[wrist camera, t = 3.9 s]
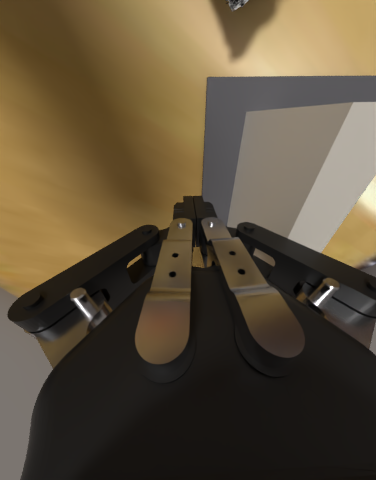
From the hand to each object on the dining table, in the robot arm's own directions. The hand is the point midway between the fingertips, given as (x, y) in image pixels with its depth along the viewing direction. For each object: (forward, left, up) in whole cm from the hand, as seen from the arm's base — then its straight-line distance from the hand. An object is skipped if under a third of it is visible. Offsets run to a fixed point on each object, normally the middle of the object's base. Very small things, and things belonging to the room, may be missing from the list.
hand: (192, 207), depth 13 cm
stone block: (+6, 0, -5) cm, 8 cm away
